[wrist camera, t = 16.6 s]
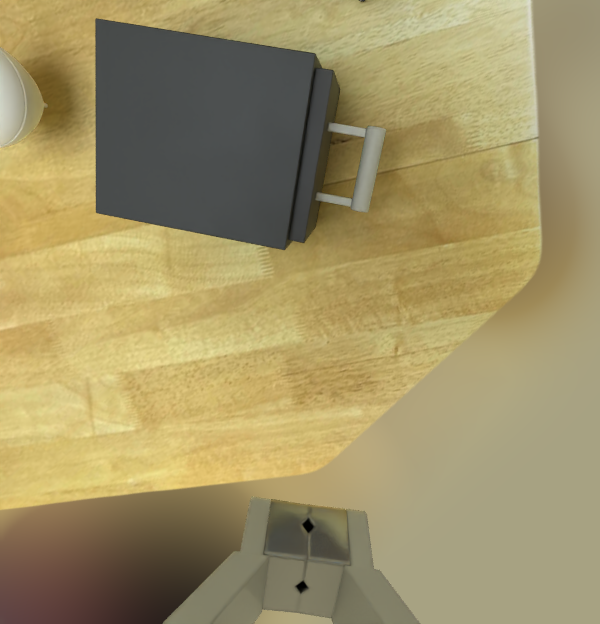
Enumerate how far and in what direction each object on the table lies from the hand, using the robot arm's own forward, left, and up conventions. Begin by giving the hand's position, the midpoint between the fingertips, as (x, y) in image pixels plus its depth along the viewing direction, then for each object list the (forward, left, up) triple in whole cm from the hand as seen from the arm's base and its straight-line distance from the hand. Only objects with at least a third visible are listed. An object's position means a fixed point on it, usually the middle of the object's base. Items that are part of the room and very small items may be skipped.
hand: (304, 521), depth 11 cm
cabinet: (+14, -3, -31) cm, 35 cm away
